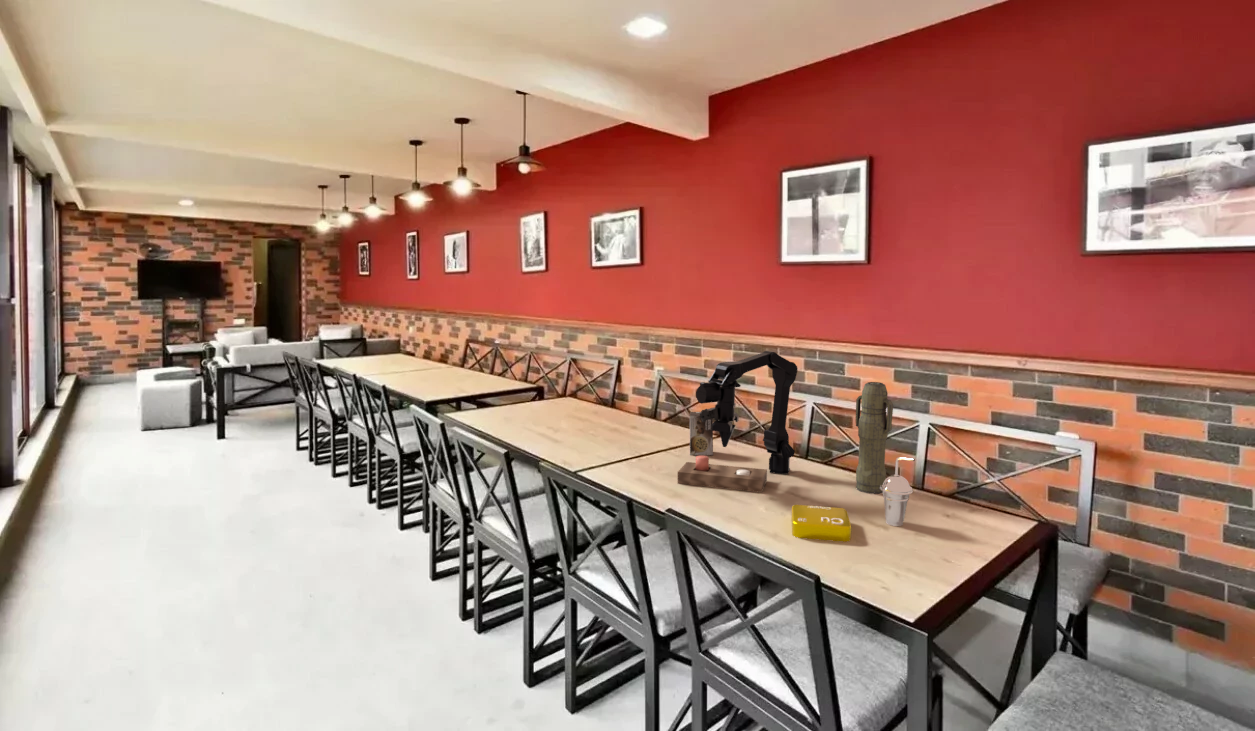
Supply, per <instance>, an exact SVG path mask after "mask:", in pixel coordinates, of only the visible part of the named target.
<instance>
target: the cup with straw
mask: <svg viewBox="0 0 1255 731" xmlns="http://www.w3.org/2000/svg"><path fill="white" fill-rule="evenodd" d="M899 461H908V462H909V461H910V462H915V458H911V457H903V456H902V457H901V456H898V457H896V459H895V468H894V470H895V471H894V474H891V475H888V476H887V477H886V479H885V480H884V482H883V483H882V484H881V485H880V489H881V490H882V491H883V493H882V496H883V504H884V515H885V523H886V524H887V525H889V526H893V527H901V526H904V521H905V518H906V517H905V516H906V512H907V505H908V501H909V498H910V495H911V494H912V493H913V492H914V491H913V487H912V486H910V482H909V481H908V479H906V478H905V477H904V476H902V475H899Z"/></svg>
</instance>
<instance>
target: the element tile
mask: <svg viewBox="0 0 1255 731" xmlns="http://www.w3.org/2000/svg"><path fill="white" fill-rule="evenodd" d="M790 515H791V520H790V522H791V533H792V534H791V535H792V536H793V537H794V536H795V538H797V537H798V538H797V539H803V538H807V539H806V540H815V539H819V540H818V541H827V540H833V541H832V542H839V541H843V542H842V543H845V542H847V541H848V542H850V541H851V539H852V537H851V536H852V525H851V524H852V523H851V521H850V517H849V514H848V511H847V510H846V509H845V508H844V507H843V508H842V507H835V506H834V507H832V506H820V505H819V506H818V505H808V504H807V505H806V504H794V505H792V506H791V514H790ZM848 542H847V543H848Z"/></svg>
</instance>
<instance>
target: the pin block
mask: <svg viewBox="0 0 1255 731" xmlns="http://www.w3.org/2000/svg"><path fill="white" fill-rule="evenodd" d="M737 470H748V471H750V476H747V475H737V474H736V473H737ZM767 481H768V469H765V468H764V469H763V468H756V467H755V468H753V467H744V466H736V465H735V466H733V465H722V464H711V463H709V470H708V471H697V470H696V462H692V461H691V462H690V461H686V462H685V463H684V464H683V465H682V466H681V468H680V469H678V471H677V484H678V485H679V484H681V485H690V486H692V485H693V486H697V487H698V486H700V487H709V488H710V487H711V488H716V489H717V488H718V489H728V490H737V491H746V492H753V493H754V492H755V493H756V492H758V493H762V492H763V490H764V487H765V486H766V483H767Z"/></svg>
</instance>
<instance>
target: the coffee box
mask: <svg viewBox="0 0 1255 731" xmlns="http://www.w3.org/2000/svg"><path fill="white" fill-rule="evenodd" d="M700 412H701V411H690V412H689V456H714V431H712V430H711V424H712V423H713V422H714V418H713V419H710V420H706V421H705V422H702V419H701V418H700Z"/></svg>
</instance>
